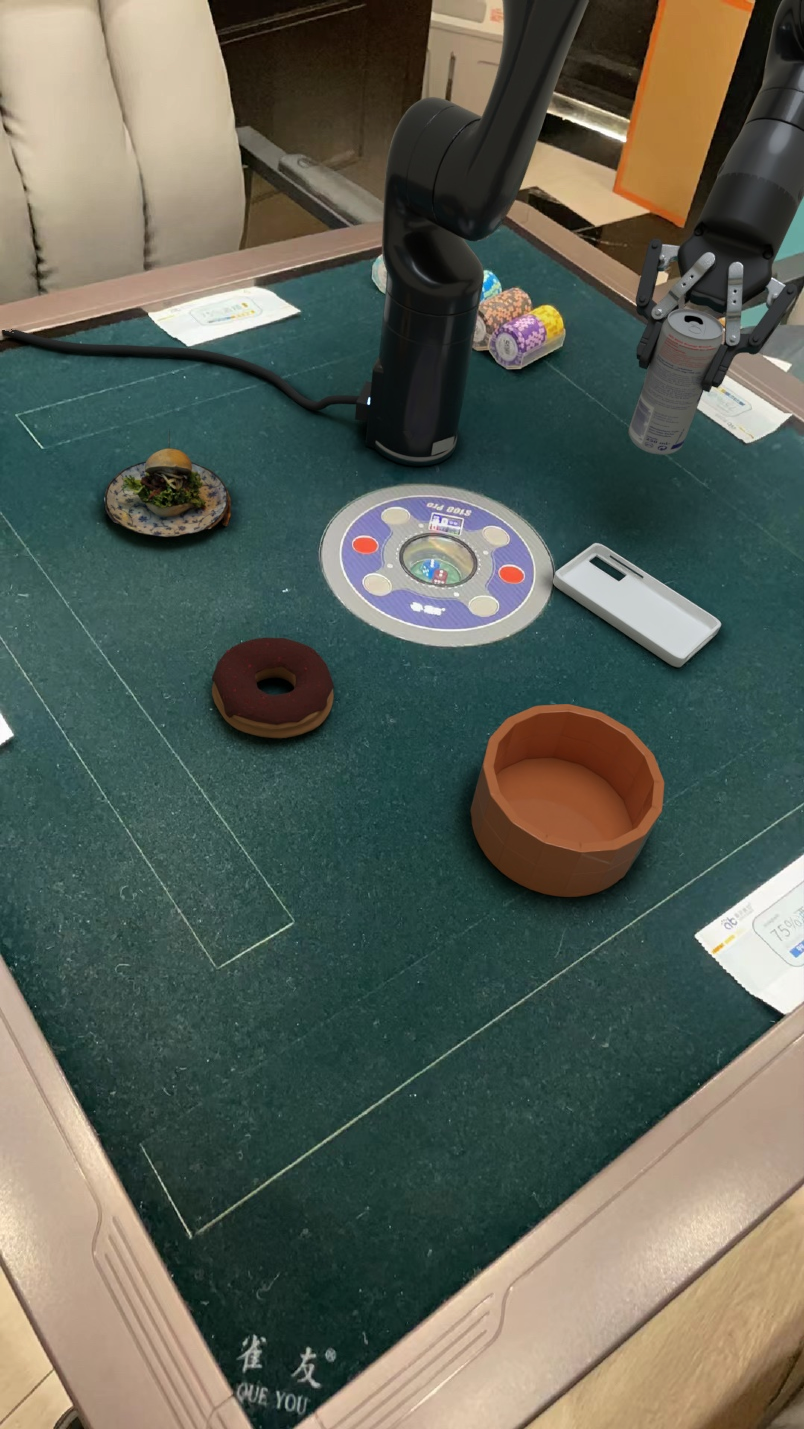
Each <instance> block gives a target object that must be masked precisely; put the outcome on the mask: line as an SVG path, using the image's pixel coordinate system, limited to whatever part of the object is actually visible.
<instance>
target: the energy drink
mask: <svg viewBox="0 0 804 1429" xmlns="http://www.w3.org/2000/svg"><path fill="white" fill-rule="evenodd" d="M723 333H724V326H723V324H722V322H721V321H720V320H719V319H718V318H716V317H715V316H713V315H712V314H710V313H707V312H705V311H702V310H699V309H694V308H683V309H678V310H674V311H672V312H671V313H670V314H669V316H668V318H667V319H666V320H665V321H664V323H663V325H662V328H661V331H660V334H659V337H658V340H657V343H656V347H655V350H654V353H653V356H652V359H651V362H650V364H649V366H648V368H647V370H646V374H645V378H644V380H643V383H642V386H641V390H640V393H639V396H638V399H637V401H636V405H635V408H634V411H633V414H632V417H631V420H630V424H629V426H628V430H627V432H628V436H629V438H630V439H631V441H632V443H633V444H634V445H635V446H636V447H637V448H639V449H640V450H642V451H644V452H647V453H649V454H653V455H663V456H664V455H671V454H674V453H676V452H678V451H679V450H680V449H682V447H683V446H684V444H685V440H686V438H687V436H688V434H689V430H690V428H691V425H692V422H693V419H694V417H695V414H696V411H697V409H698V406H699V404H700V401H701V400H702V396H703V393H704V392H705V391H704V390H702V384H703V382H704V379H705V377H706V375H707V373H708V370H709V368H710V366H711V364H712V362H713V359H714V357H715V355H716V353H717V351H718V349H719V347H720V345H721V344H723V341H724V340H723V336H724V335H723Z"/></svg>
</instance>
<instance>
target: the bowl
mask: <svg viewBox="0 0 804 1429" xmlns="http://www.w3.org/2000/svg"><path fill="white" fill-rule="evenodd" d="M485 748H486V749H485V751H484V755H483V758H482V763H481V766H480V770H479V773H478V777H477V779H476V780H477V781H476V784H475V789H474V793H473V797H472V800H471V806H470V820H471V825H472V830H473V833H474V836H475V839H476V841H477V843H478V845H479V848H480V849H481V851H482V852H483V853H484V855H485V857H486V858H487V859H488V860H489V861H490V863H491V864H492V865H493V866H494V867H495V868H497V870H499V871H500V872H501V873H502V874H503V875H505V876H506V877H507V878H508V879H509V880H512V881H513V882H515V883H517V884H518V885H520V886H522V887H525V888H526V889H528V890H531V891H534V892H537V893H541V894H543V895H548V896H553V897H561V898H562V897H563V898H574V897H575V898H577V897H578V898H579V897H585V896H590V895H594V894H597V893H600V892H602V891H605V890H607V889H609V888H611V887H612V886H614V885H615V884H616V883H618V882H619V881H621V879H623V878H624V877H625V876H626V874H627V873H628V872H629V870H630V869H631V868H632V866H633V864H634V863H635V862H636V860H637V859H638V857H639V855H640V854H641V852H642V850H643V848H644V847H645V845H646V842H647V841H648V839H649V837H650V835H651V833H652V831H653V830H654V828H655V825H656V823H657V821H658V820H659V818H660V816H661V814H662V812H663V806H664V805H663V804H664V793H665V780H664V778H663V775H662V773H661V769H660V768H659V765H658V762H657V760H656V757H655V754H654V753H653V752H652V751H651V750H650V749H649V747H648V746H647V745H646V744H644V742H643V741H642V740H641V739H640V738H639V736H637V734H636V733H635V731H633V730H632V729H631V728H630V727H628V726H626V725H624V724H622V723H621V722H619V721H617V720H616V719H614V718H612V717H611V716H609V715H607V714H605V713H604V712H601V711H598V710H595V709H590V708H586V707H582V706H577V705H574V704H570V703H564V704H563V703H560V704H542V705H535V706H532V707H530V708H527V709H525V710H523V711H520V712H518V713H516V714H514V715H511V716H508V717H507V718H506V719H505V720H504V721H503V723H501V725H500V726H498V728H497V729H496V730H495V731H494V732H493V734H491V736H490V737H489V738H488V741H487V745H486V747H485Z"/></svg>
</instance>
